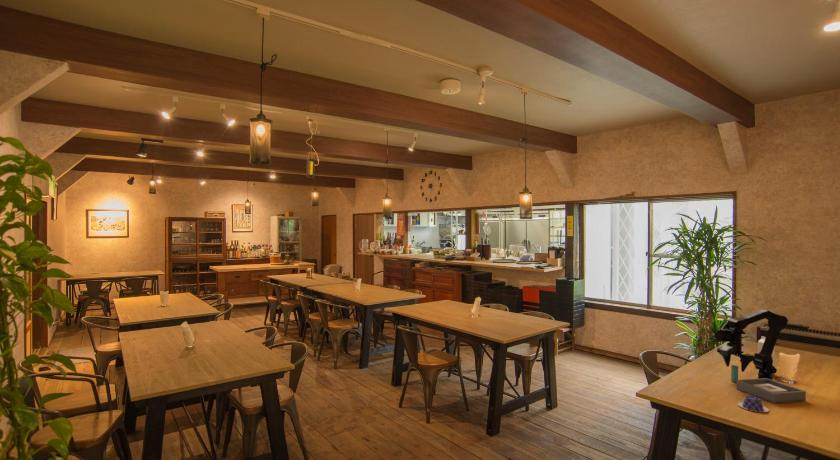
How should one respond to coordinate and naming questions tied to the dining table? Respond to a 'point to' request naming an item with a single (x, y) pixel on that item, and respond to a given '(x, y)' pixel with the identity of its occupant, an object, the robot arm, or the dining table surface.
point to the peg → (734, 373)
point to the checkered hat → (753, 404)
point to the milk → (760, 345)
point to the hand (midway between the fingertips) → (735, 369)
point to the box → (771, 390)
